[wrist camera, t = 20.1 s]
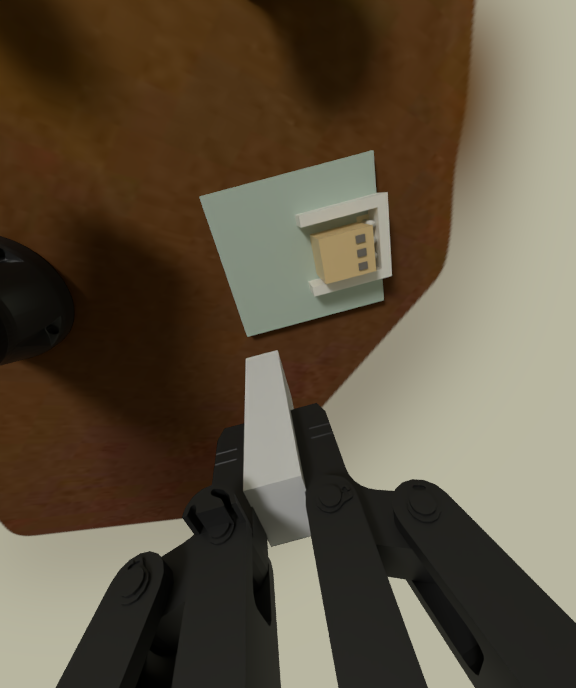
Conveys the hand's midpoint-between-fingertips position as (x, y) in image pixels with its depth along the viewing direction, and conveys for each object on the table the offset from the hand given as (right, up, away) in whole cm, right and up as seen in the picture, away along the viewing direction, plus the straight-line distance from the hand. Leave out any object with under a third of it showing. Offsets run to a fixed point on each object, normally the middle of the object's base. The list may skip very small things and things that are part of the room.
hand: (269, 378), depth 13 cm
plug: (+7, +14, +22) cm, 27 cm away
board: (+3, +14, +23) cm, 27 cm away
